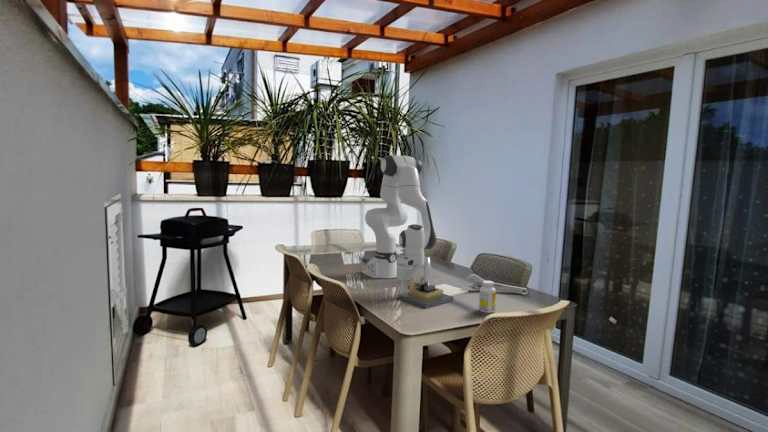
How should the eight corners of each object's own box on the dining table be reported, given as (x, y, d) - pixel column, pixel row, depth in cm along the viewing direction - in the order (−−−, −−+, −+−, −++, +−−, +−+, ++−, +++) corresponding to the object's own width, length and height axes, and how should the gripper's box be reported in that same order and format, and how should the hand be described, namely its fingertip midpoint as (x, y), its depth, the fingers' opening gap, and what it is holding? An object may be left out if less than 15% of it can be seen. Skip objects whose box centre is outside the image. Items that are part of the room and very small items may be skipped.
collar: (402, 292, 199) (402, 282, 199) (418, 288, 206) (418, 278, 206) (426, 300, 187) (426, 289, 186) (442, 296, 194) (443, 285, 193)
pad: (422, 290, 210) (422, 288, 210) (444, 285, 221) (444, 283, 221) (446, 298, 198) (446, 296, 198) (468, 292, 208) (468, 290, 208)
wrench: (526, 300, 206) (465, 289, 212) (525, 299, 208) (465, 288, 214) (529, 284, 205) (467, 273, 211) (528, 283, 207) (467, 273, 213)
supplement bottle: (492, 308, 184) (493, 279, 183) (496, 313, 177) (498, 283, 176) (477, 308, 184) (478, 279, 182) (481, 313, 177) (482, 283, 176)
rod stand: (398, 298, 196) (399, 256, 194) (425, 292, 207) (426, 252, 205) (426, 308, 182) (427, 263, 180) (453, 300, 194) (454, 258, 192)
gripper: (425, 255, 208) (424, 282, 210) (394, 260, 195) (394, 289, 197) (434, 257, 203) (433, 285, 205) (403, 262, 190) (403, 292, 192)
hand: (414, 287), depth 201 cm, fingers open, 8 cm apart
